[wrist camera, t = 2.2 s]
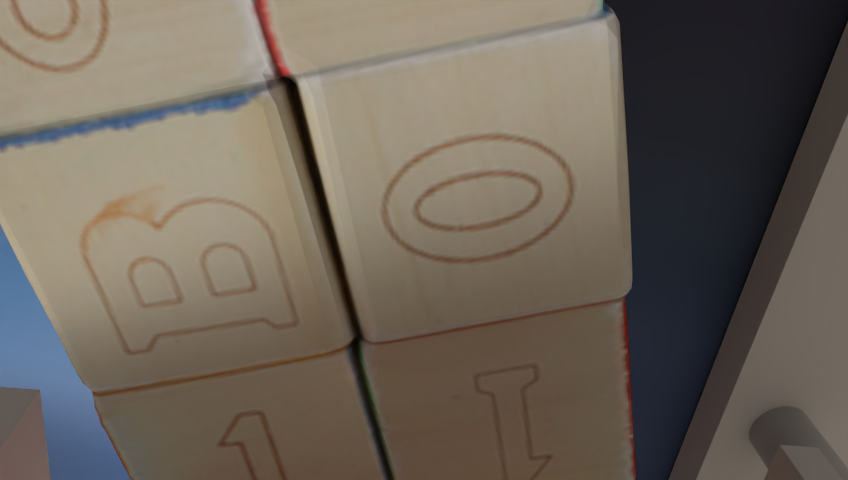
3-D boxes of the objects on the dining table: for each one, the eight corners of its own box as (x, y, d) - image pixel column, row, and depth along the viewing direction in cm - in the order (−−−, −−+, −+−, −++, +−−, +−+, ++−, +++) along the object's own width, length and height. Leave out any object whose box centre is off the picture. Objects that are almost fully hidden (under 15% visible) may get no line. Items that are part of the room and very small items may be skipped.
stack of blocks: (138, -182, 13) (-965, -421, 2) (471, -251, 13) (898, -852, 2) (375, 575, 23) (368, 1206, 12) (568, 544, 23) (736, 1158, 12)
